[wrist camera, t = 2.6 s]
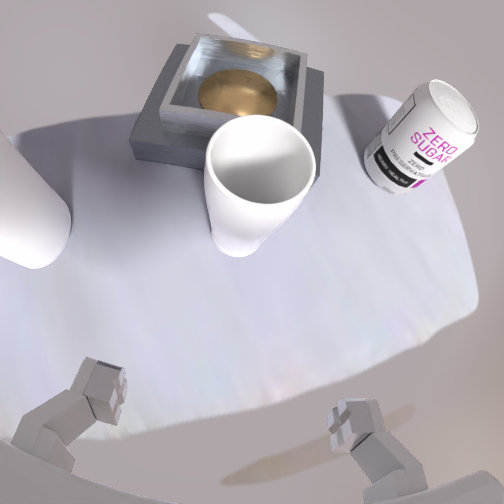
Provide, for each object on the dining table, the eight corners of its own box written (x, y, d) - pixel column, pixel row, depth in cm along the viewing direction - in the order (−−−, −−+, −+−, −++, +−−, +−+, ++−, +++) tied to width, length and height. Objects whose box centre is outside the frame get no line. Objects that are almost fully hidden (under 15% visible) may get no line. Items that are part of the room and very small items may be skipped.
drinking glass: (190, 232, 31) (180, 153, 17) (236, 191, 33) (259, 97, 18) (237, 279, 30) (266, 234, 16) (282, 234, 32) (338, 163, 18)
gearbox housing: (135, 159, 32) (122, 119, 25) (177, 64, 37) (176, 24, 29) (307, 192, 34) (331, 158, 27) (314, 90, 39) (332, 54, 31)
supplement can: (402, 147, 38) (463, 86, 24) (417, 199, 37) (492, 146, 22) (355, 141, 37) (412, 66, 23) (369, 196, 35) (444, 131, 21)
